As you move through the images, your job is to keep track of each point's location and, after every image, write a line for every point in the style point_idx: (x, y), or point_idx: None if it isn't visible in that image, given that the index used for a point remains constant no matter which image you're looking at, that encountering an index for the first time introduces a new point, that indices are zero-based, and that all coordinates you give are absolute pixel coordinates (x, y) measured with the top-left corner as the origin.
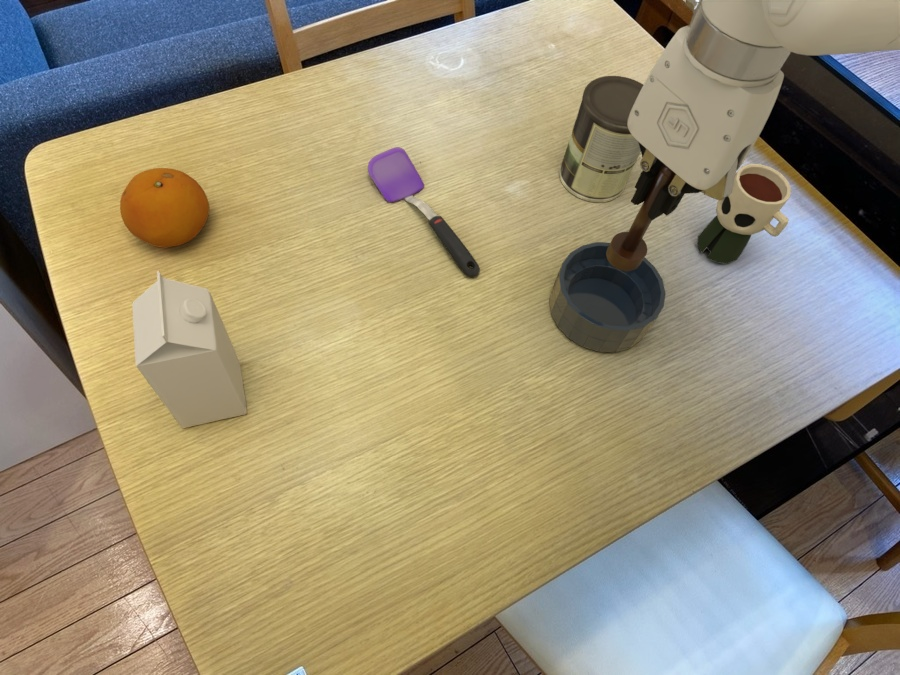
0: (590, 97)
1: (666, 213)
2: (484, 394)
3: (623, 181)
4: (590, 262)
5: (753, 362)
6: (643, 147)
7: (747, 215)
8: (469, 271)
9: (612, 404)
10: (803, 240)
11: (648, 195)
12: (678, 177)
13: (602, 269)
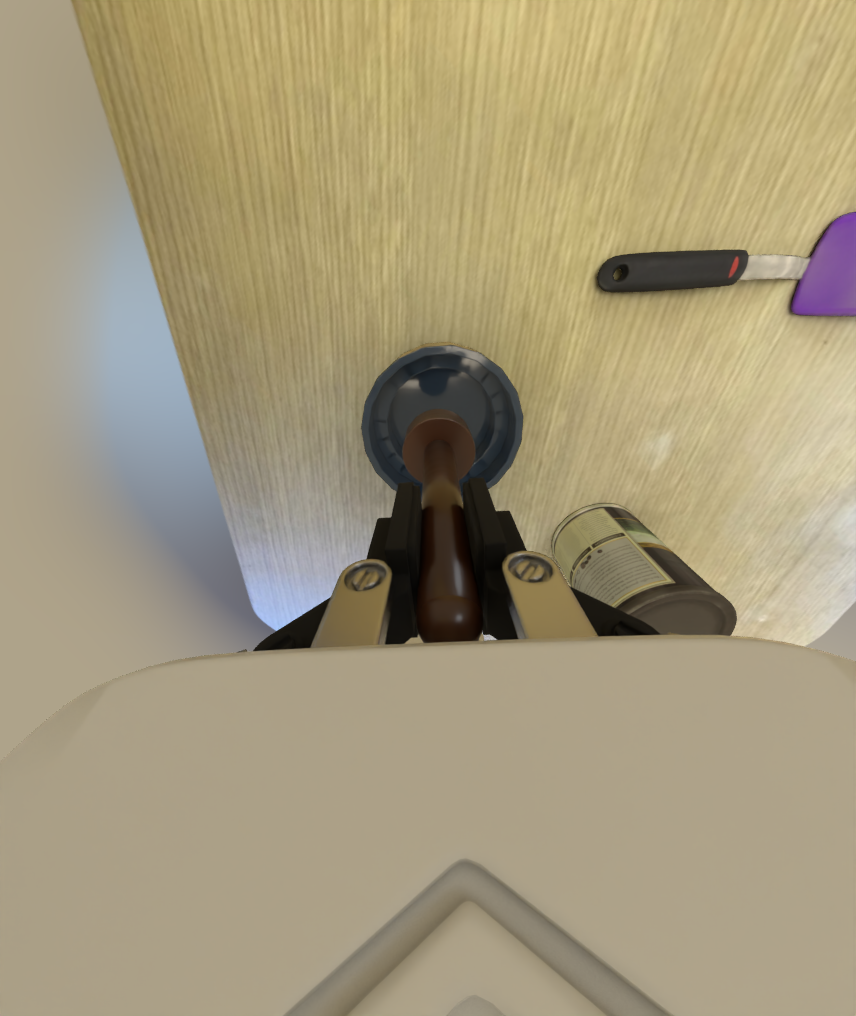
0: (716, 608)
1: (378, 521)
2: (411, 119)
3: (562, 560)
4: (496, 445)
5: (301, 523)
6: (604, 619)
7: (418, 633)
8: (613, 263)
9: (312, 333)
10: None
11: (456, 520)
12: (359, 631)
13: (479, 454)
